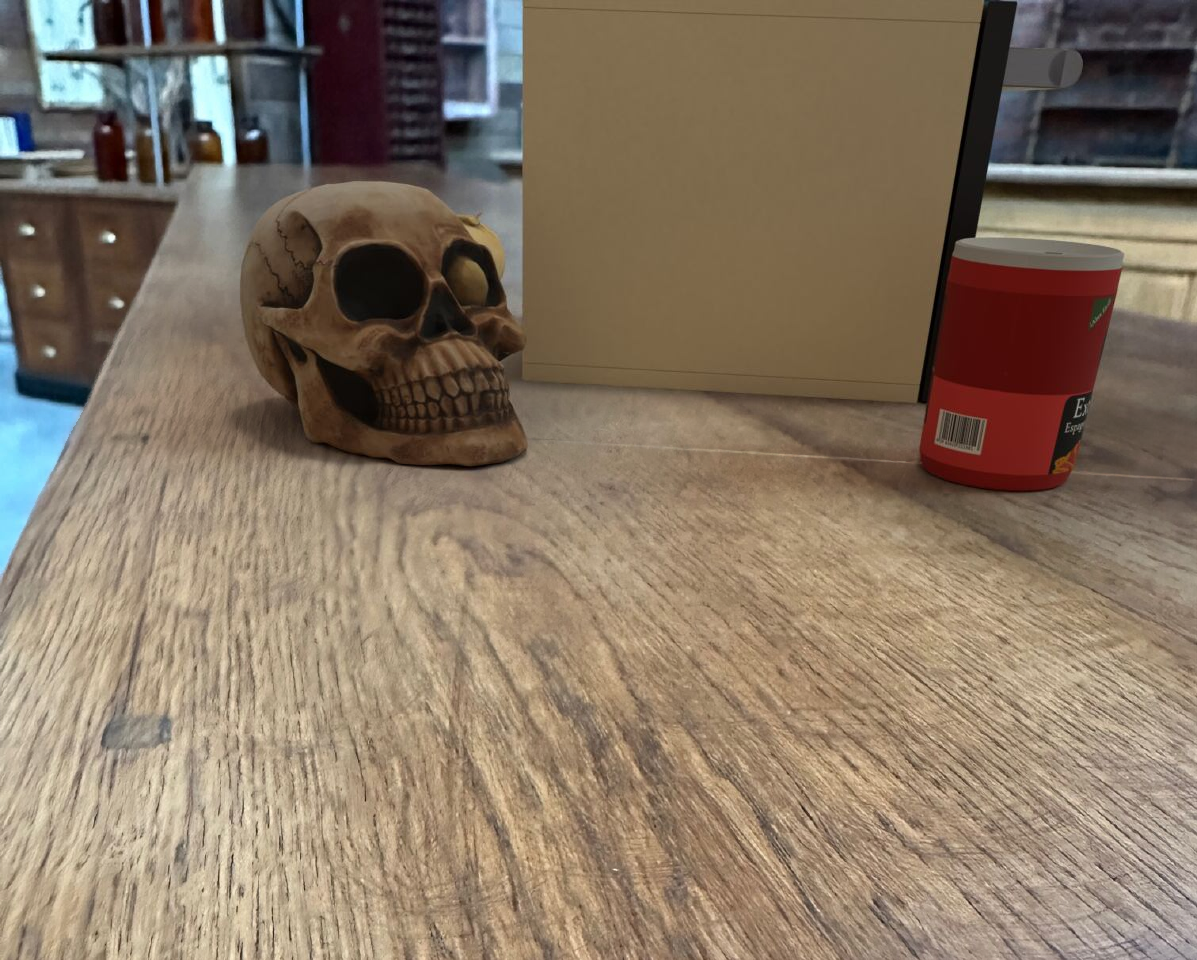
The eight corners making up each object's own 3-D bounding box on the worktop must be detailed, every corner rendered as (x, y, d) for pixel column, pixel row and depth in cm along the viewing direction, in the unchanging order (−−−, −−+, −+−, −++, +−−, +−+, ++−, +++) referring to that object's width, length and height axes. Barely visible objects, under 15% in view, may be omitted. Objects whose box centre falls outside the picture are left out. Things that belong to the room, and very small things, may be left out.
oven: (875, 332, 100) (920, 25, 89) (916, 404, 77) (985, -4, 65) (574, 316, 102) (580, 14, 91) (522, 381, 78) (522, -18, 67)
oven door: (957, 335, 100) (1011, 30, 89) (1024, 408, 76) (1110, 4, 65) (879, 331, 100) (923, 27, 89) (921, 402, 76) (988, 0, 65)
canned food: (1084, 498, 59) (1143, 258, 53) (921, 486, 60) (963, 249, 54) (1057, 459, 65) (1107, 242, 60) (911, 448, 66) (947, 234, 61)
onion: (408, 294, 111) (404, 210, 107) (444, 284, 117) (441, 204, 113) (486, 301, 108) (485, 215, 105) (518, 290, 115) (518, 209, 111)
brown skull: (506, 469, 59) (476, 168, 53) (194, 477, 63) (132, 195, 56) (574, 413, 73) (556, 168, 66) (314, 422, 76) (274, 190, 70)
